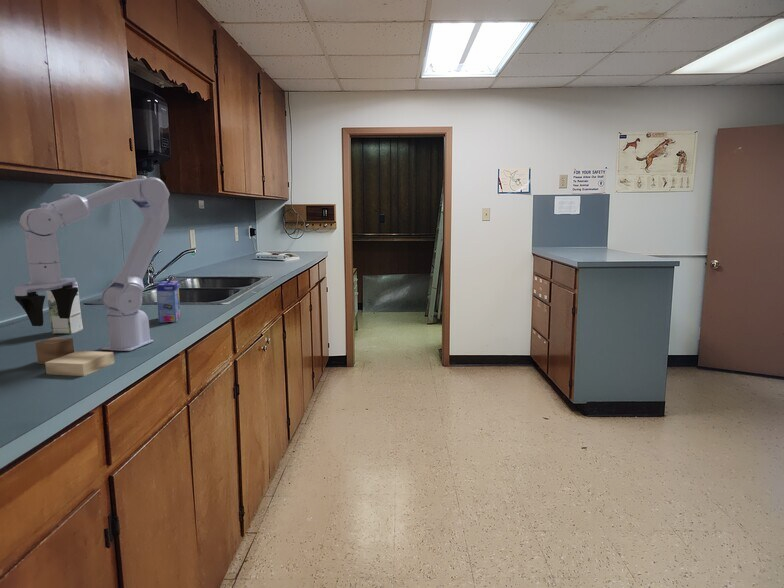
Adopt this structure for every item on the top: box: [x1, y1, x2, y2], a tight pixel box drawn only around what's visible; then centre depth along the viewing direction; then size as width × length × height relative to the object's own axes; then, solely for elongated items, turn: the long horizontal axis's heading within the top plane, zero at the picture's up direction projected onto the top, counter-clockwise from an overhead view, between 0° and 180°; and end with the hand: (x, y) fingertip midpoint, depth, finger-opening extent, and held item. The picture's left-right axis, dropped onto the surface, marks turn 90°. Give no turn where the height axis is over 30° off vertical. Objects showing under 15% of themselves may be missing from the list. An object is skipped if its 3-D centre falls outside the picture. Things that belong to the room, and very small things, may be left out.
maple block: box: [44, 350, 115, 377], centre depth 106 cm, size 9×9×3 cm
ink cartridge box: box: [156, 274, 181, 324], centre depth 153 cm, size 10×6×14 cm, turn 17°
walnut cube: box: [35, 337, 75, 365], centre depth 111 cm, size 5×5×5 cm
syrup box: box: [45, 281, 84, 335], centre depth 137 cm, size 6×6×14 cm
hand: (51, 321), depth 109 cm, fingers open, 7 cm apart
